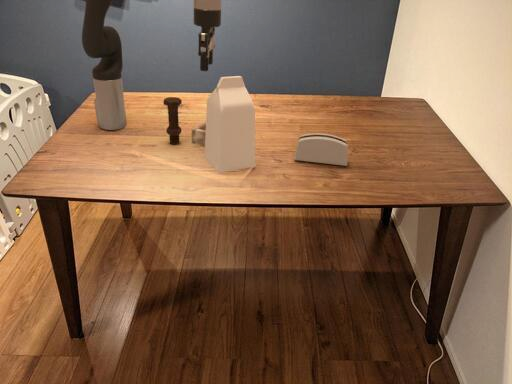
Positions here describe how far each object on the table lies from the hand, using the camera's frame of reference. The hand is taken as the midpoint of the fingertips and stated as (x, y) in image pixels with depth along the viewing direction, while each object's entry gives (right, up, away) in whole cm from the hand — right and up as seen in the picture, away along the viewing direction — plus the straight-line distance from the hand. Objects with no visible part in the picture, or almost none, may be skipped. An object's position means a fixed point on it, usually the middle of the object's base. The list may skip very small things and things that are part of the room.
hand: (206, 67), depth 118 cm
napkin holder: (+35, -28, +10) cm, 46 cm away
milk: (+6, -27, +6) cm, 29 cm away
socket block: (0, -19, +20) cm, 28 cm away
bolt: (-13, -20, +17) cm, 30 cm away
